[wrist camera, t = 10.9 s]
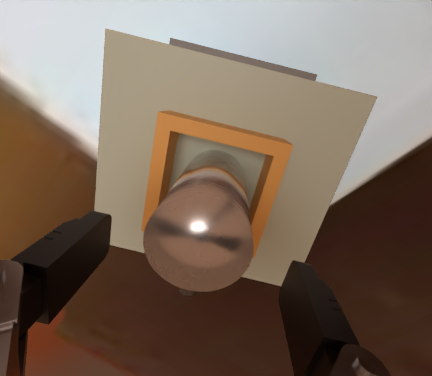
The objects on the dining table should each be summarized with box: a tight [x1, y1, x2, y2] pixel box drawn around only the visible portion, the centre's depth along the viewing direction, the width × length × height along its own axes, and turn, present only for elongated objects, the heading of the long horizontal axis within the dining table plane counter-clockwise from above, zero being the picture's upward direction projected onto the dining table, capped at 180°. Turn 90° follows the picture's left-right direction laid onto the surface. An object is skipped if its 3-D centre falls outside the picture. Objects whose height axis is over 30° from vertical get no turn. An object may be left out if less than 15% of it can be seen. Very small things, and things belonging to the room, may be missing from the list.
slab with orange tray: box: [95, 29, 377, 286], centre depth 22 cm, size 20×19×10 cm
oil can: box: [143, 150, 254, 296], centre depth 16 cm, size 7×5×10 cm
